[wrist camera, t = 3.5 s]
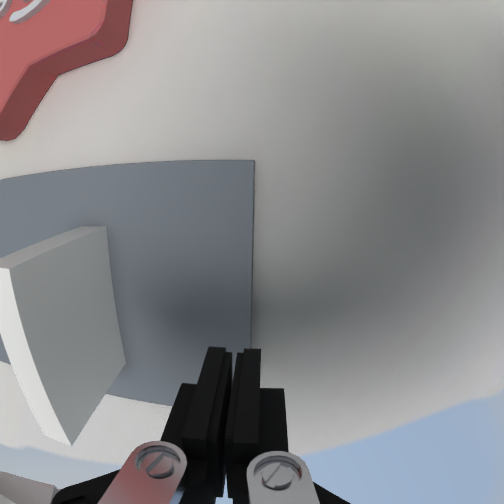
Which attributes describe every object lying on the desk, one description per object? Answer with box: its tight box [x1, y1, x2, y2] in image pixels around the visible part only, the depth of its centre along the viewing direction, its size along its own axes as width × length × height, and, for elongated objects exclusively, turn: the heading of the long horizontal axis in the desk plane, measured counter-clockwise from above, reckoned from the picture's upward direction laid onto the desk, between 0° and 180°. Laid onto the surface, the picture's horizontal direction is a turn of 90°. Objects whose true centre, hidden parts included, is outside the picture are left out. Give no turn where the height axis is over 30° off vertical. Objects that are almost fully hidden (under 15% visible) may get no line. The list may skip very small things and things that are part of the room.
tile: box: [0, 226, 126, 446], centre depth 12 cm, size 2×8×7 cm, turn 179°
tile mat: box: [0, 160, 254, 406], centre depth 15 cm, size 24×14×1 cm, turn 89°
